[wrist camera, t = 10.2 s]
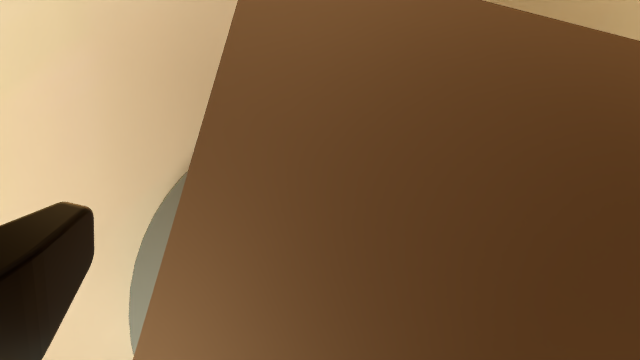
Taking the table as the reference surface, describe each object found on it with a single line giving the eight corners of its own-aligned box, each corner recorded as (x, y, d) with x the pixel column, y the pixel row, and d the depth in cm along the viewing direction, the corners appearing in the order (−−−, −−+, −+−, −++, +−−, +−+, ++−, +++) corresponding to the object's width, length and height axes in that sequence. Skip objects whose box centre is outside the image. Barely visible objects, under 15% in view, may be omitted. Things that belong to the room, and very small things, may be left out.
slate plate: (517, 463, 16) (535, 475, 15) (143, 517, 15) (131, 537, 14) (460, 119, 19) (473, 107, 18) (135, 139, 18) (125, 128, 16)
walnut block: (386, 394, 15) (826, 787, 3) (227, 360, 15) (50, 642, 3) (413, 237, 16) (812, 84, 4) (266, 202, 16) (255, -59, 4)
